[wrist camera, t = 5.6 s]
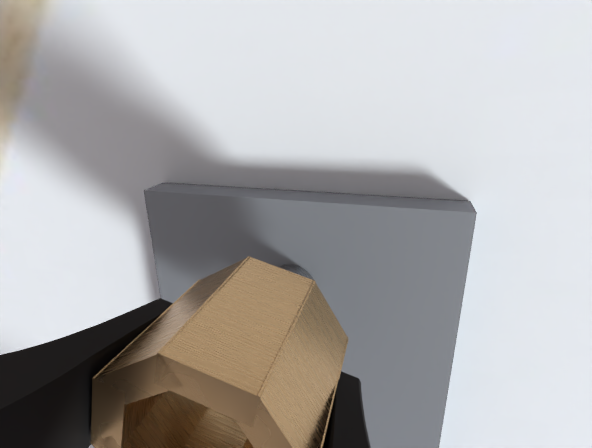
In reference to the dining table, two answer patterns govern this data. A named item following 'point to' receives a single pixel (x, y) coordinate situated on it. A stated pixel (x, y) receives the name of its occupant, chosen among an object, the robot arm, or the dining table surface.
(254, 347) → the bronze ring
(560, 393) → the dining table surface
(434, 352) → the slate block
